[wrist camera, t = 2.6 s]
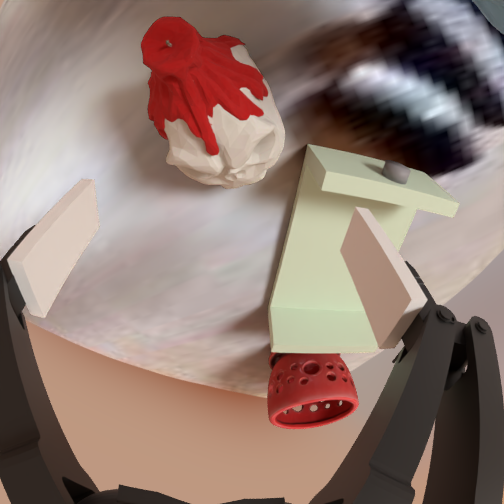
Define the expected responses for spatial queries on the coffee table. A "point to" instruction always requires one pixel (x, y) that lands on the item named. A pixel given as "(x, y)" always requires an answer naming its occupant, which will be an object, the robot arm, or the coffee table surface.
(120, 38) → the coffee table surface
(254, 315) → the coffee table surface
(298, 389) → the plant pot
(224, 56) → the candle
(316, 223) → the holder
